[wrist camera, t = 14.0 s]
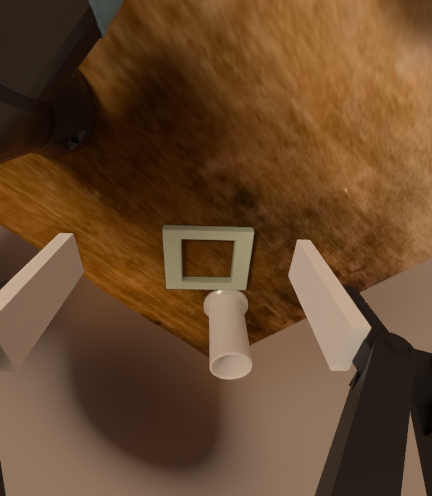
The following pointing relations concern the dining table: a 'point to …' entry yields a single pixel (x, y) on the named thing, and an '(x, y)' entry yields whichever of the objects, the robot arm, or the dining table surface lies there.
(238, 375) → the cup
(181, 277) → the pale green rectangular frame
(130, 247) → the dining table surface
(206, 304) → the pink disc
